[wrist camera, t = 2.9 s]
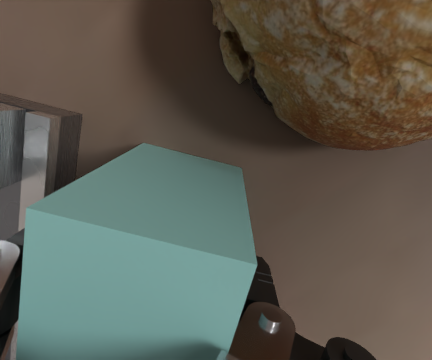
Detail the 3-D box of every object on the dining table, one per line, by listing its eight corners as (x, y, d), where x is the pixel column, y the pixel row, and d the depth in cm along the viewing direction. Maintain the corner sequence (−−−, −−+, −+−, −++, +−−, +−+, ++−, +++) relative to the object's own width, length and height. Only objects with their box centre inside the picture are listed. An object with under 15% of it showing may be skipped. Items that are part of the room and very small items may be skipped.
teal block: (143, 142, 12) (25, 207, 5) (241, 167, 12) (257, 265, 5) (120, 270, 13) (9, 449, 7) (206, 291, 13) (183, 488, 7)
